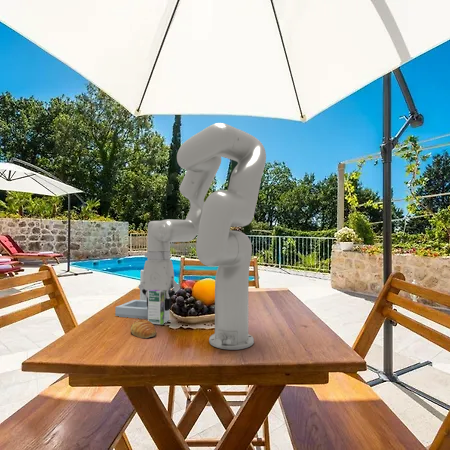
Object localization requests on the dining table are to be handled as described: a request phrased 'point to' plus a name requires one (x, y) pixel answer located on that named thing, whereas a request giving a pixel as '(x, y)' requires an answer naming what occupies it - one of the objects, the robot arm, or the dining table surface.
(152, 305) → the syrup box
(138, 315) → the socket block
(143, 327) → the pastry
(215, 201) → the robot arm
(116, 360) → the dining table surface
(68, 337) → the dining table surface
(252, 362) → the dining table surface
